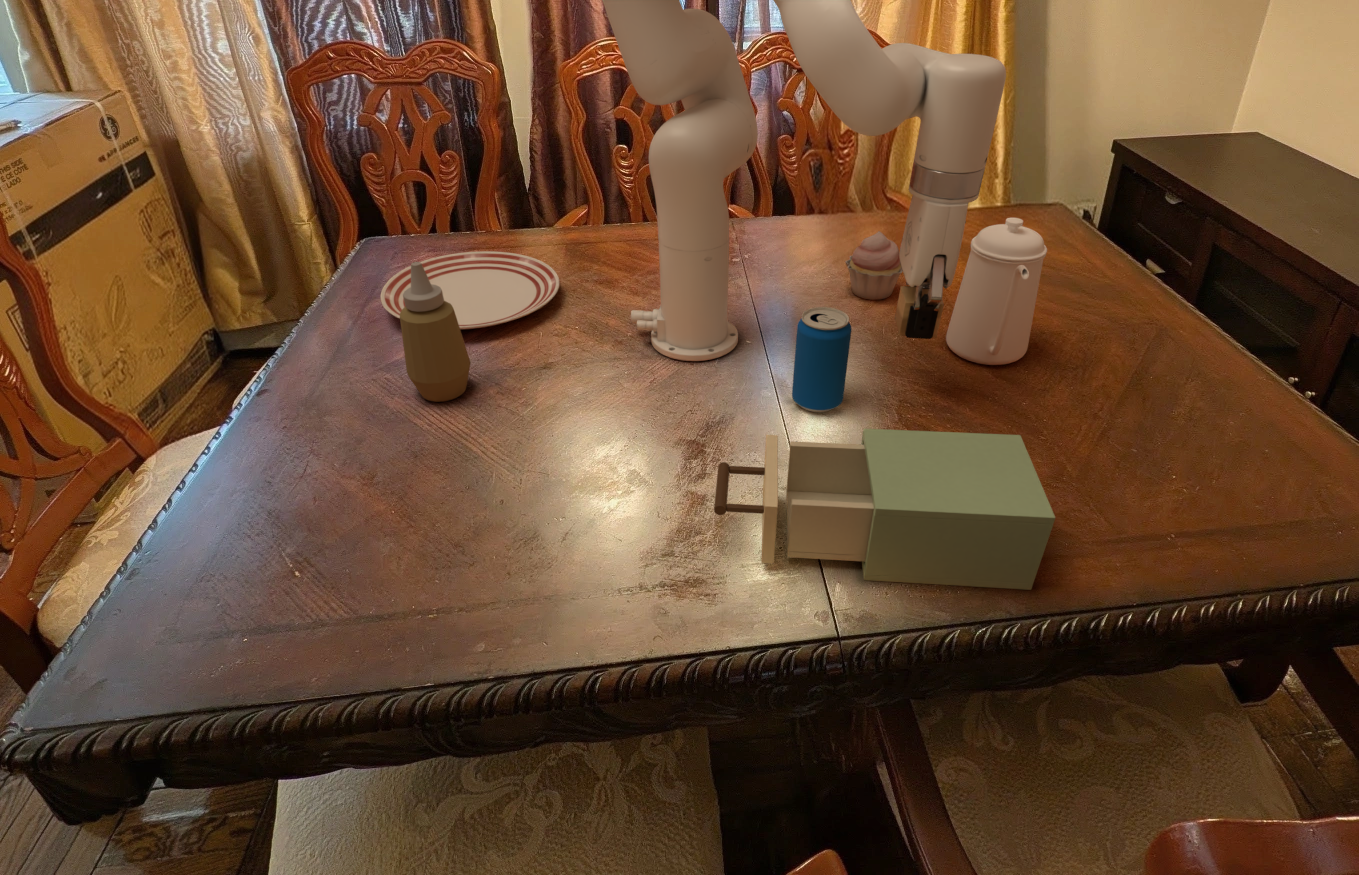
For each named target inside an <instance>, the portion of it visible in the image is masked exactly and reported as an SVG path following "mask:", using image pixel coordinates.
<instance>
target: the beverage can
mask: <svg viewBox="0 0 1359 875" xmlns="http://www.w3.org/2000/svg"><path fill="white" fill-rule="evenodd" d="M796 326H797V327H796V337H795V338H796V339H795V351H794V363H793V375H792V376H793V377H792V390H791V397H792V401H794V403H795V404H797V405H798V406H800V407H801V408H802V409H804V410H806V411H808V412H812V413H826V412H829V411H831V410H833V409H836V408H838V407H840V405H841V404H842V403H843V401H844V396H845V395H844V394H845V387H846V380H847V378H846V377H847V371H848V361H849V354H850V348H851V347H850V345H851V337H852V330H853V329H852V325H851V322H850V317H849V315H848V314H847V313H846V312H845V311H843V310H841V309H838V308H834V307H830V306H829V307H828V306H816V307H811V308H808V309H806V310H805V311H803V312H802V314H801V318H800V320H798V322H797V325H796Z"/></svg>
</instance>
